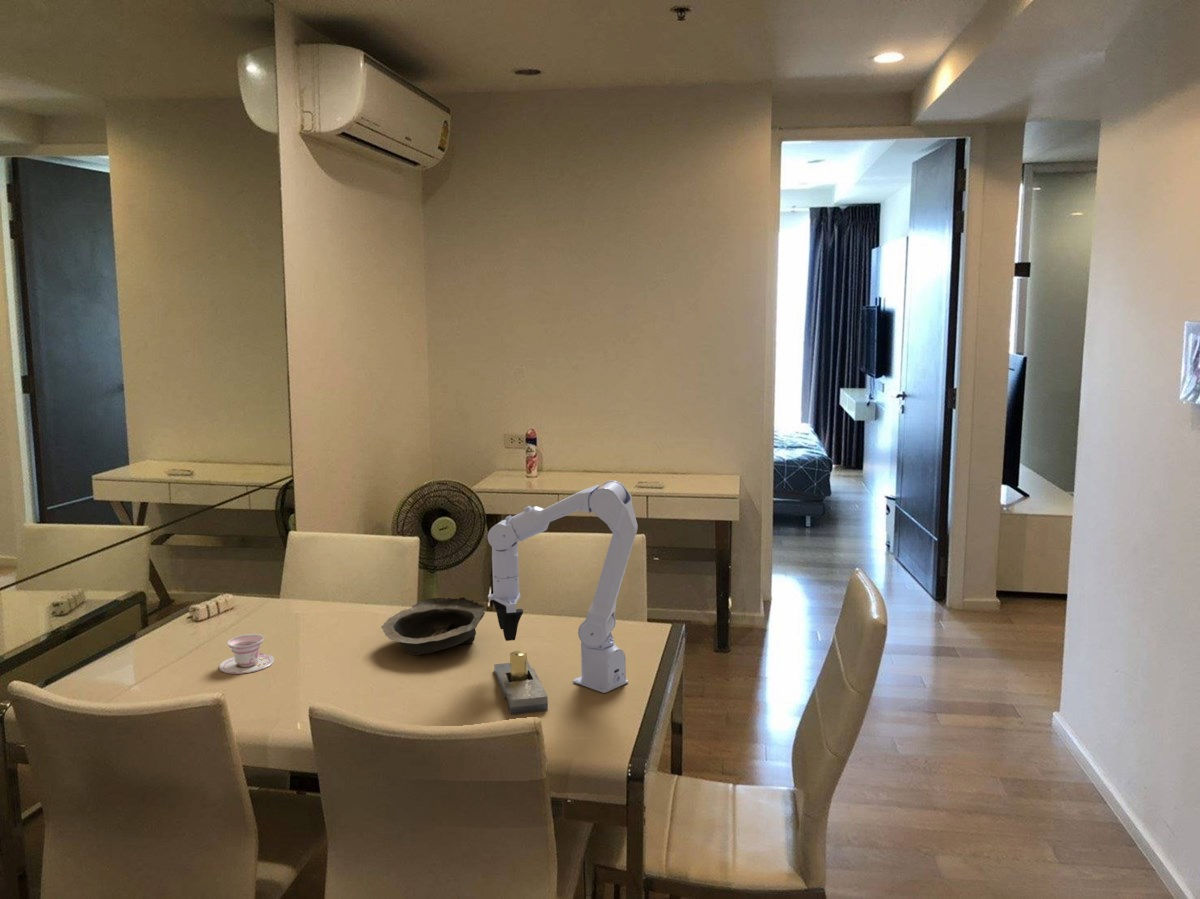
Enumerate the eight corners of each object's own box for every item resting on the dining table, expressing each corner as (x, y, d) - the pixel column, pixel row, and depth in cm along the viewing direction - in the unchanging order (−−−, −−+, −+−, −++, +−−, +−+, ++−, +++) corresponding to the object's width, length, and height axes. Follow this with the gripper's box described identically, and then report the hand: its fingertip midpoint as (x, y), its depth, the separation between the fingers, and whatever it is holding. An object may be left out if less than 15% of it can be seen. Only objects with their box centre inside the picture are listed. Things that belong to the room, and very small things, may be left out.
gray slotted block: (494, 670, 209) (494, 658, 209) (527, 667, 211) (527, 654, 210) (510, 714, 186) (510, 700, 186) (547, 710, 188) (547, 696, 187)
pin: (531, 689, 199) (530, 653, 197) (519, 694, 196) (517, 658, 195) (520, 684, 201) (519, 649, 200) (507, 689, 198) (506, 654, 197)
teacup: (256, 676, 208) (254, 650, 207) (208, 673, 211) (206, 647, 210) (284, 657, 220) (282, 632, 219) (238, 654, 222) (236, 629, 221)
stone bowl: (495, 628, 237) (494, 594, 234) (472, 673, 212) (471, 636, 210) (401, 625, 239) (399, 591, 237) (368, 669, 215) (365, 632, 213)
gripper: (483, 567, 209) (485, 625, 211) (491, 585, 195) (494, 647, 197) (514, 565, 211) (516, 622, 213) (524, 582, 197) (526, 643, 199)
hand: (507, 634), depth 205 cm, fingers open, 7 cm apart
